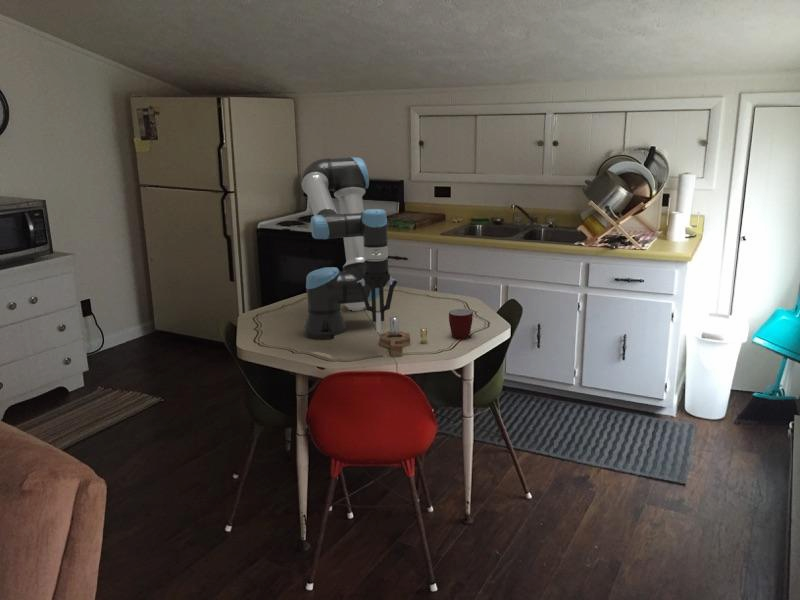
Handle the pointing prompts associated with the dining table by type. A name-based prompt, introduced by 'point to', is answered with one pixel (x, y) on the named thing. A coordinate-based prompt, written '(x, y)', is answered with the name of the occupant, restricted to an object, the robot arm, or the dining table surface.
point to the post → (394, 327)
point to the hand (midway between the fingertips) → (378, 330)
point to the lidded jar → (355, 306)
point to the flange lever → (395, 342)
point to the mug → (460, 323)
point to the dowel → (423, 335)
